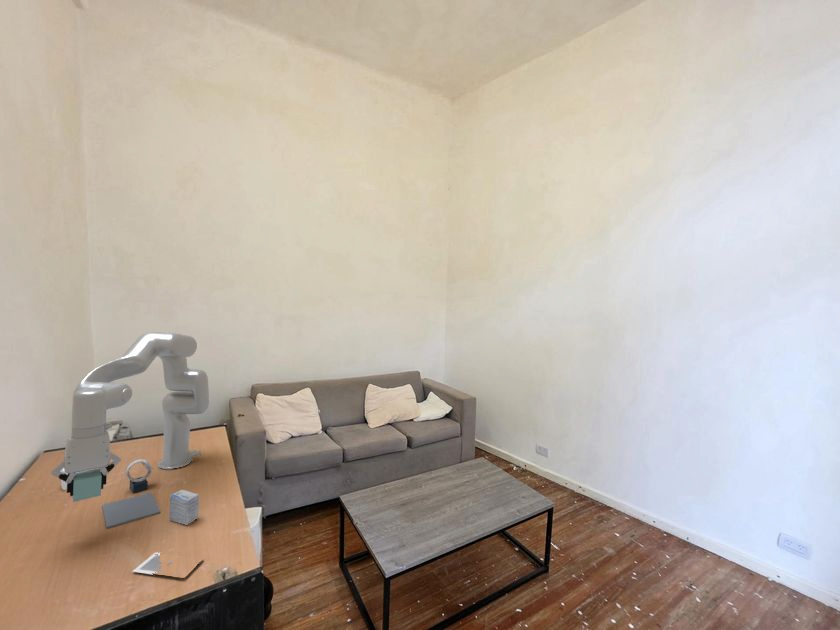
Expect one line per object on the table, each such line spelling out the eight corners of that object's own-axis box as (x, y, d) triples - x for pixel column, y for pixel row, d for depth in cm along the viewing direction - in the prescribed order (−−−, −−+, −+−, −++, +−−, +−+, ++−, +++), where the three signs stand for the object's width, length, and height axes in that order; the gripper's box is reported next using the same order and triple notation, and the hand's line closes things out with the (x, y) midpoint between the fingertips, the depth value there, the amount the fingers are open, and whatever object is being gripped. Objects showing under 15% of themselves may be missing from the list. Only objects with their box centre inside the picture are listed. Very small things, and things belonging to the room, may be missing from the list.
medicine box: (198, 519, 124) (199, 494, 123) (186, 526, 120) (187, 500, 119) (181, 513, 126) (182, 488, 126) (168, 520, 122) (169, 495, 122)
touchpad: (184, 583, 97) (184, 574, 97) (131, 575, 99) (132, 567, 99) (204, 562, 105) (204, 555, 105) (155, 555, 106) (155, 548, 106)
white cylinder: (72, 491, 135) (73, 472, 135) (54, 490, 135) (54, 471, 135) (89, 482, 142) (90, 464, 142) (72, 481, 142) (72, 463, 142)
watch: (153, 487, 141) (154, 459, 141) (127, 495, 135) (128, 465, 135) (149, 482, 145) (150, 454, 145) (123, 489, 139) (124, 460, 138)
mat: (151, 493, 137) (151, 492, 137) (160, 513, 126) (160, 511, 126) (102, 506, 127) (102, 504, 127) (106, 528, 116) (106, 526, 116)
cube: (99, 487, 114) (99, 468, 114) (100, 495, 110) (101, 475, 109) (72, 493, 110) (73, 473, 109) (73, 502, 105) (73, 481, 105)
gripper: (124, 422, 118) (122, 477, 118) (47, 432, 106) (45, 494, 106) (127, 428, 112) (125, 487, 113) (47, 441, 100) (45, 506, 101)
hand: (86, 490), depth 110 cm, fingers closed on cube, 5 cm apart
